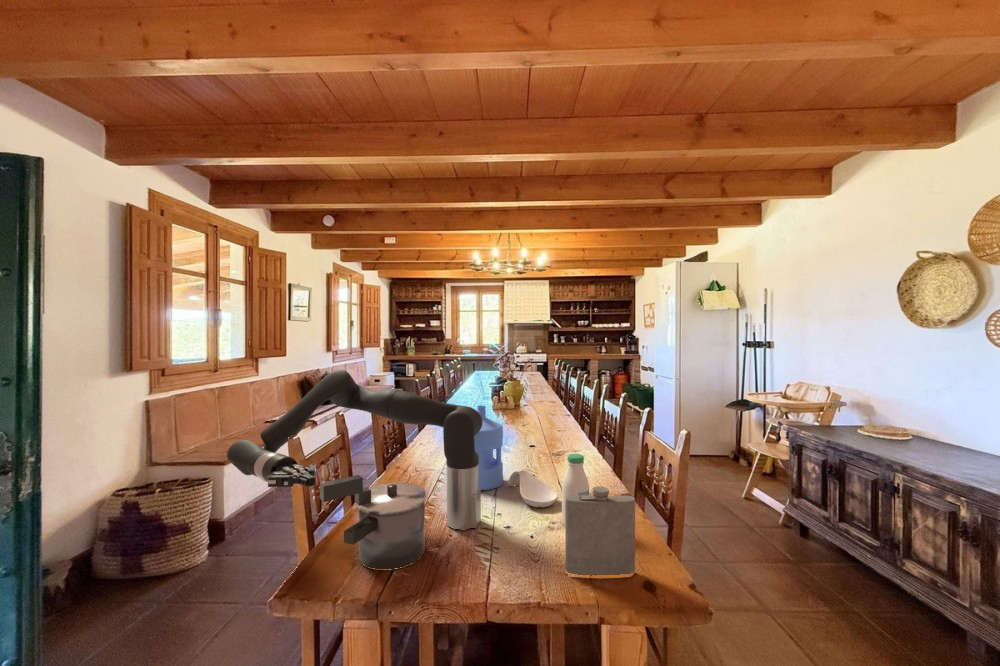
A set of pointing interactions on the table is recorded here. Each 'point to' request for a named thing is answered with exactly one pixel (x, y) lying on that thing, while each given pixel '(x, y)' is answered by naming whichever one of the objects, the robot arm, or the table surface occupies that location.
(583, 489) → the milk bottle
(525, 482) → the spoon rest
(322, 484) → the pressure cooker lid
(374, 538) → the pressure cooker pot
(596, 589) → the table surface
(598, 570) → the hip flask
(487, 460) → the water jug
